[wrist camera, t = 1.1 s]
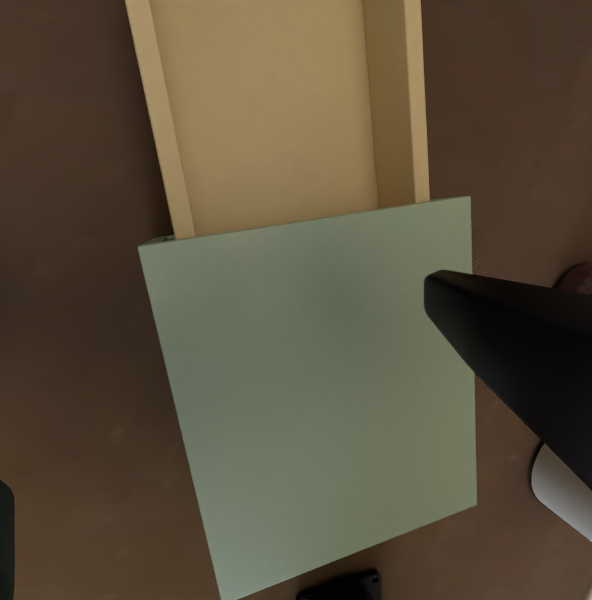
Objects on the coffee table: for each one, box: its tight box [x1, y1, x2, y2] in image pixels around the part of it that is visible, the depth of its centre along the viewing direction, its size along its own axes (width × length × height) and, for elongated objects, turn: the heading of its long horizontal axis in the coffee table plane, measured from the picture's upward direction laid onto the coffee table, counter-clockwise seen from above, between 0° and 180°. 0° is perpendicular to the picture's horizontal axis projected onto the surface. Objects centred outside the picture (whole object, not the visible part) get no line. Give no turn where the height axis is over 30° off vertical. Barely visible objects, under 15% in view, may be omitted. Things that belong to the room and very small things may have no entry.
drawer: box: [125, 0, 430, 240], centre depth 16 cm, size 20×13×5 cm, turn 8°
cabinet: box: [138, 196, 477, 600], centre depth 20 cm, size 17×14×7 cm
